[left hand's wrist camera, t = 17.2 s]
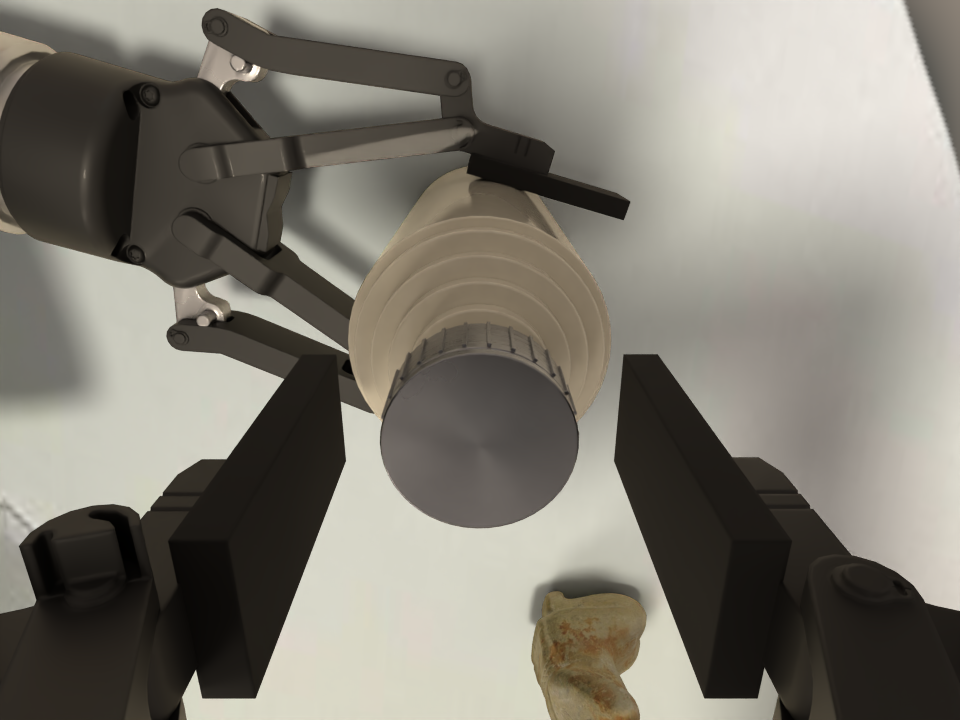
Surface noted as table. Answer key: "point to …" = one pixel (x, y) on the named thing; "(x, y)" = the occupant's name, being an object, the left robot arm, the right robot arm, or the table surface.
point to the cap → (479, 427)
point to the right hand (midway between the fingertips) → (586, 298)
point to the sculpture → (587, 655)
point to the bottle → (479, 285)
